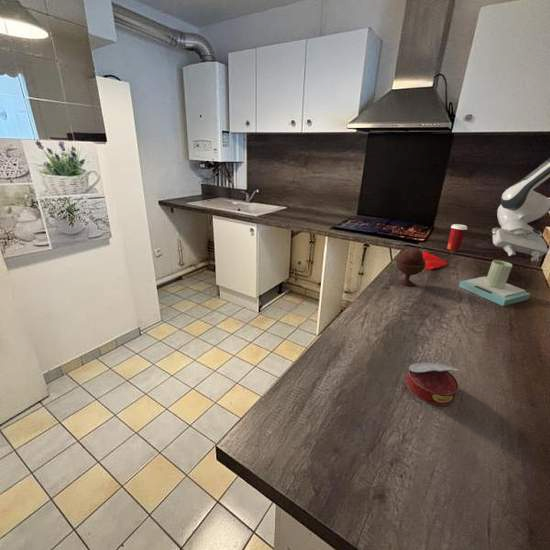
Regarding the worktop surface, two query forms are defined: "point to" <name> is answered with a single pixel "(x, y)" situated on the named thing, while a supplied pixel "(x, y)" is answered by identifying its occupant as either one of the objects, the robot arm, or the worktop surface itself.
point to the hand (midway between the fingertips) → (523, 258)
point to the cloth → (433, 261)
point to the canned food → (432, 382)
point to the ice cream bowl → (410, 264)
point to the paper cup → (456, 236)
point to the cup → (498, 274)
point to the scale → (495, 291)
